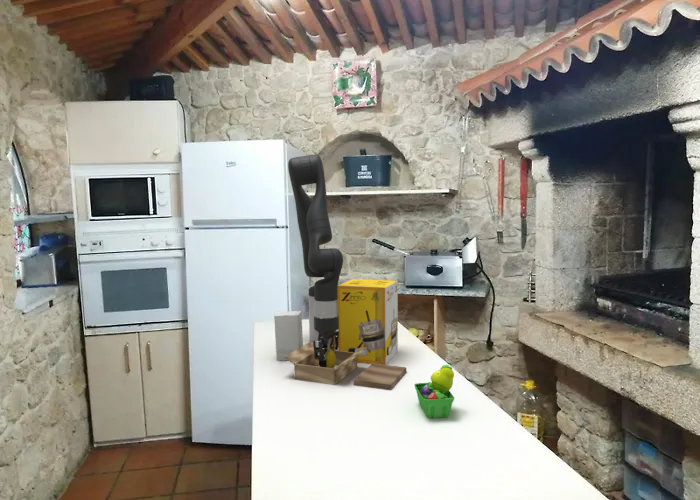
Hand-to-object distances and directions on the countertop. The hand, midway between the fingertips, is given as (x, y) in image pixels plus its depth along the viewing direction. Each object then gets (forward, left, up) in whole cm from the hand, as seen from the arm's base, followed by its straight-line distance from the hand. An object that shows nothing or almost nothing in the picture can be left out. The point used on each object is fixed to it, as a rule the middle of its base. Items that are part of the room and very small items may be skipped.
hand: (327, 368), depth 151 cm
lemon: (0, 0, -1) cm, 1 cm away
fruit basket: (+16, +37, -2) cm, 40 cm away
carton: (0, 0, -1) cm, 1 cm away
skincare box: (-9, -18, -2) cm, 20 cm away
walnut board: (-1, +17, -1) cm, 17 cm away
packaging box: (-21, +6, -2) cm, 22 cm away
